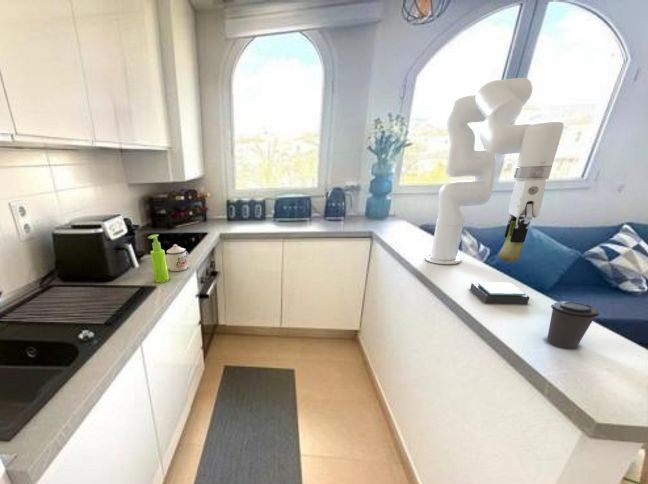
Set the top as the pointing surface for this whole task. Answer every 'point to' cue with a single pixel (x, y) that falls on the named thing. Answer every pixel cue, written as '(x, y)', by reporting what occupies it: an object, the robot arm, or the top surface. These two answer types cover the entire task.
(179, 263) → the teacup with lid
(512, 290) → the scale pan
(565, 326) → the coffee cup
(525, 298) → the scale
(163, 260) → the soap dispenser
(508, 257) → the fennel bulb
